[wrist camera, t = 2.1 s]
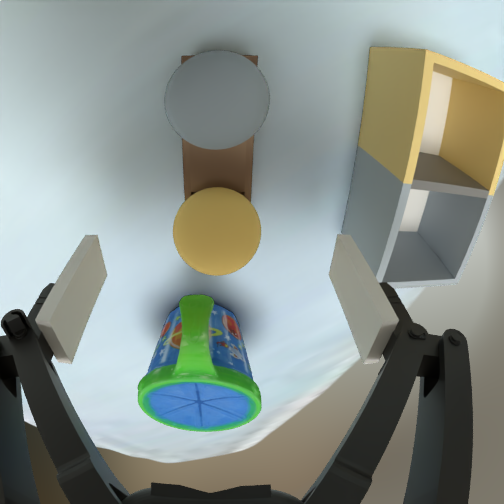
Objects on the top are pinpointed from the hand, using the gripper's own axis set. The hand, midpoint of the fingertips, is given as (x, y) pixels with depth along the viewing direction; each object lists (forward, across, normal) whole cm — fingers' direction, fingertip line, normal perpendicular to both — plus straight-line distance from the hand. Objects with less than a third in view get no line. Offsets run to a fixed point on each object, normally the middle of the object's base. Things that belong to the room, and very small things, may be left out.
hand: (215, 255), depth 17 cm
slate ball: (+4, 0, +8) cm, 9 cm away
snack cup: (+9, -2, -15) cm, 17 cm away
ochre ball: (+4, 0, 0) cm, 4 cm away
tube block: (+8, +14, +4) cm, 17 cm away
